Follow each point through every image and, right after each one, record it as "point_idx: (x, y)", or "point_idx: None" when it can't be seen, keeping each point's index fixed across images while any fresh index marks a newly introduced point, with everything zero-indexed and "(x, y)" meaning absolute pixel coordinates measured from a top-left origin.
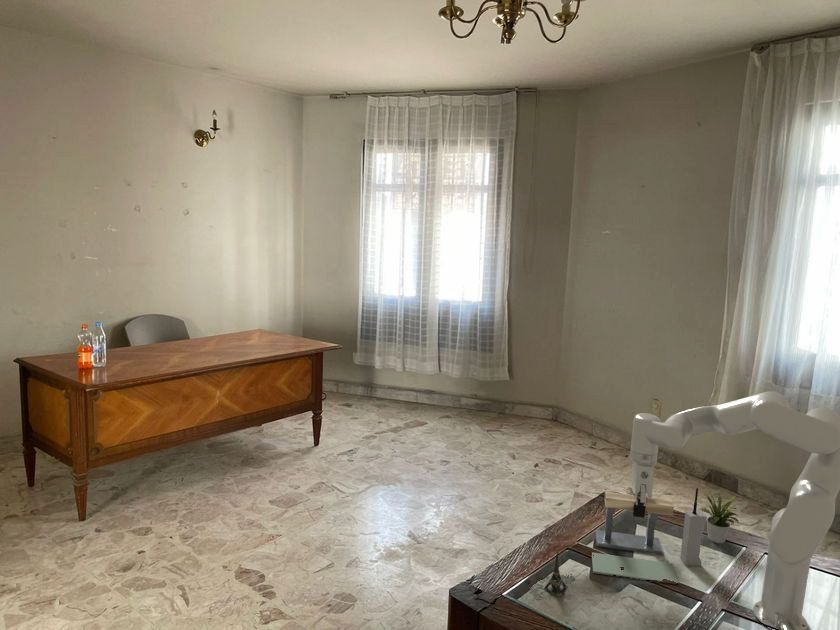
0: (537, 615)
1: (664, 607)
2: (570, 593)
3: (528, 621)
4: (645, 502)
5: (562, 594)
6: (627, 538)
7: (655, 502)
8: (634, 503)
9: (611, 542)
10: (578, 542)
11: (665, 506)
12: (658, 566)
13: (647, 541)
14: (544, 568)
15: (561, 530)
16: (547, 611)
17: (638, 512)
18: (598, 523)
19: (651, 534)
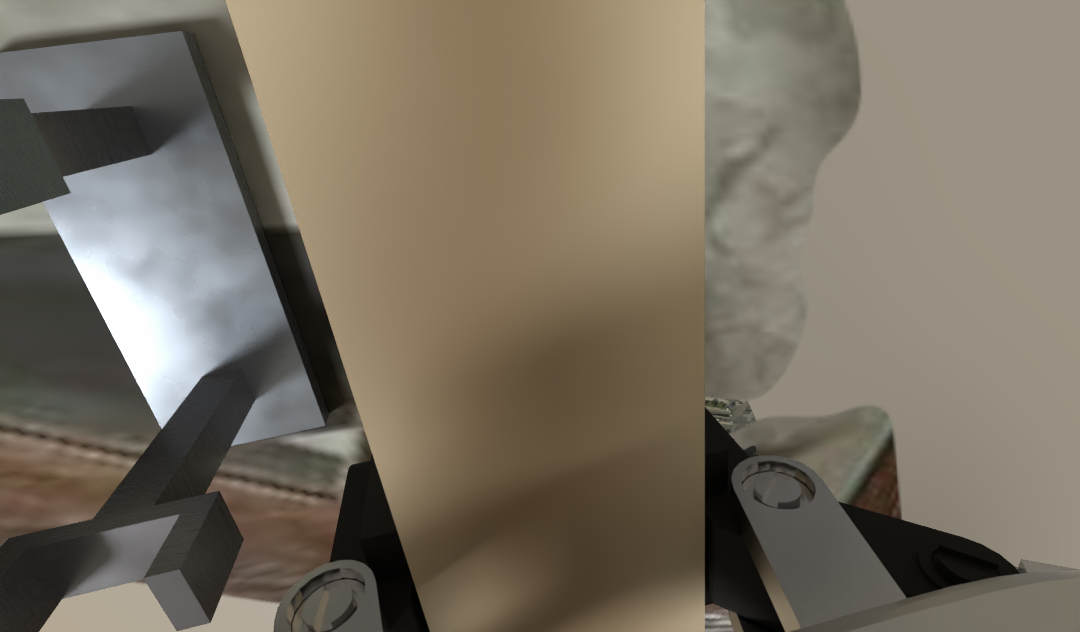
0: (868, 489)
1: (751, 45)
2: (740, 434)
3: (895, 501)
4: (845, 518)
5: (753, 455)
6: (155, 281)
7: (624, 301)
8: (705, 600)
9: (273, 361)
10: (343, 491)
11: (687, 20)
12: None
13: (137, 151)
14: None
15: (273, 574)
16: (846, 471)
17: None
18: (46, 451)
19: (89, 131)
